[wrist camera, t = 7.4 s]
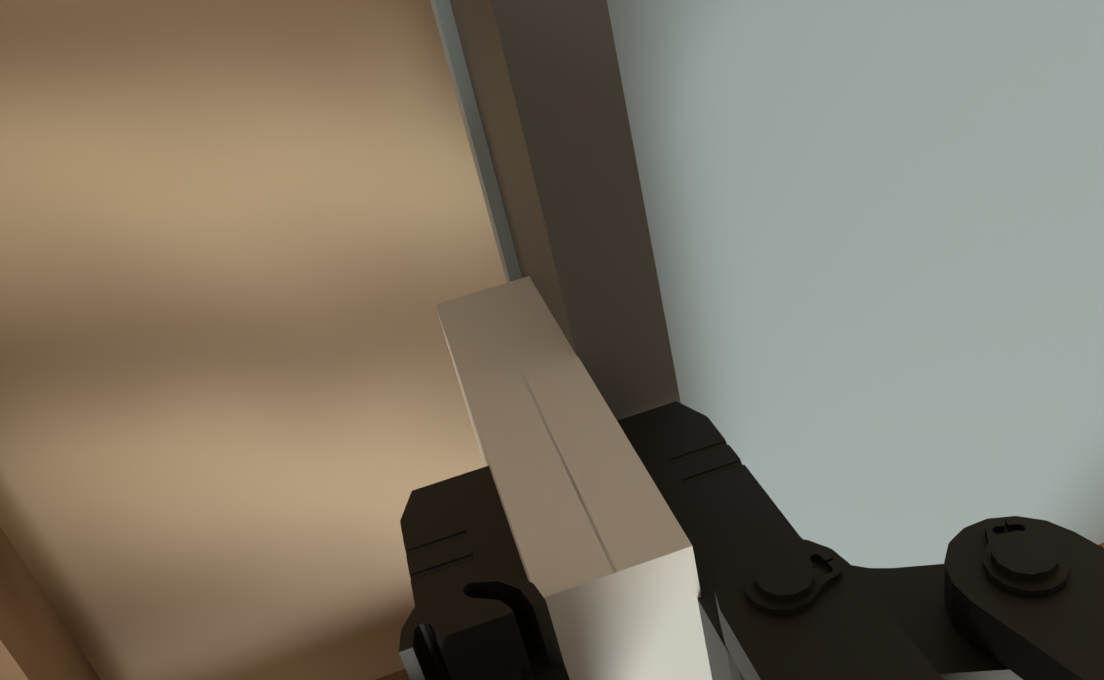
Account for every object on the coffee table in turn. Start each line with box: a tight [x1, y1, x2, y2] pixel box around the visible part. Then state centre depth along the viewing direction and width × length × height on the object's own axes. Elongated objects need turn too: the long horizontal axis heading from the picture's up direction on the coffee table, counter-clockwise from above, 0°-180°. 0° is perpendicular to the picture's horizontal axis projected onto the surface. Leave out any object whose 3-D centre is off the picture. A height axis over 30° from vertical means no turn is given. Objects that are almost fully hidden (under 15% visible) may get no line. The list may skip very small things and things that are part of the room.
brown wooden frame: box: [0, 0, 507, 680], centre depth 18 cm, size 20×34×3 cm, turn 102°
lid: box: [430, 0, 1104, 568], centre depth 15 cm, size 19×18×4 cm
